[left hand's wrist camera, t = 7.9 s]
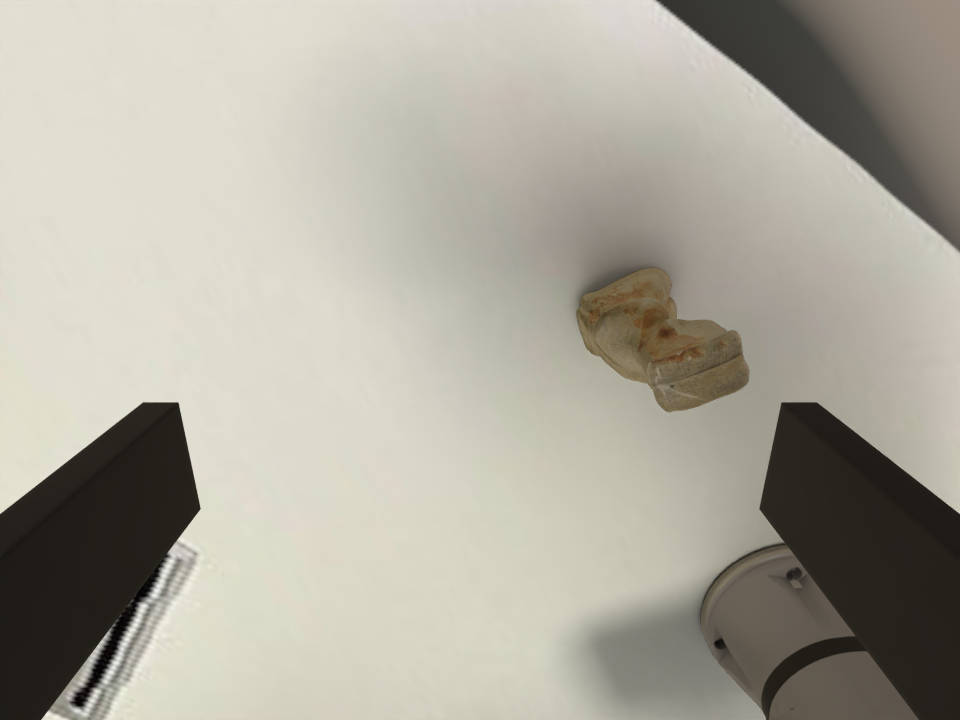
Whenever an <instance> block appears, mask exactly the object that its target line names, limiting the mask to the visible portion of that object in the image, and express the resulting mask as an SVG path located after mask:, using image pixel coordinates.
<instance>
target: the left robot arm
mask: <svg viewBox="0 0 960 720" xmlns="http://www.w3.org/2000/svg"><path fill="white" fill-rule="evenodd" d="M200 509H201V508H200V504H199V499H198V494H197V489H196V484H195V480H194V475H193V470H192V465H191V461H190V456H189V451H188V446H187V441H186V437H185V432H184V427H183V422H182V417H181V413H180V408H179V403H142V404H141V405H139V406H138V407H137V408H136V409H134V410H133V411H132V412H130V413H129V414H128V415H127V416H125V417H124V418H123V419H121V420H120V421H119V422H118V423H116V424H115V425H114V426H112V427H111V428H110V429H109V430H107V431H106V432H105V433H103V434H102V435H101V436H100V437H98V438H97V439H96V440H95V441H93V442H92V443H91V444H89V445H88V446H87V447H86V448H84V449H83V450H82V451H80V452H79V453H78V454H77V455H75V456H74V457H73V458H71V459H70V460H69V461H68V462H66V463H65V464H64V465H63V466H61V467H60V468H59V469H57V470H56V471H55V472H54V473H52V474H51V475H50V476H48V477H47V478H46V479H45V480H43V481H42V482H41V483H39V484H38V485H37V486H36V487H34V488H33V489H32V490H31V491H29V492H28V493H27V494H25V495H24V496H23V497H22V498H20V499H19V500H18V501H16V502H15V503H14V504H13V505H11V506H10V507H9V508H7V509H6V510H5V511H4V512H2V513H1V514H0V720H41V719H42V718H43V717H44V715H45V714H46V713H47V711H48V710H49V709H50V707H51V706H52V705H53V703H54V702H55V701H56V699H57V698H58V697H59V695H60V694H61V693H62V692H63V690H64V689H65V688H66V686H67V685H68V684H69V682H70V681H71V680H72V678H73V677H74V676H75V674H76V673H77V672H78V670H79V669H80V668H81V666H82V665H83V664H84V662H85V661H86V660H87V658H88V657H89V656H90V655H91V653H92V652H93V651H94V649H95V648H96V647H97V645H98V644H99V643H100V641H101V640H102V639H103V637H104V636H105V635H106V633H107V632H108V631H109V629H110V628H111V627H112V625H113V624H114V623H115V621H116V620H117V619H118V617H119V616H120V615H121V614H122V612H123V611H124V610H125V608H126V607H127V606H128V604H129V603H130V602H131V600H132V599H133V598H134V596H135V595H136V594H137V592H138V591H139V590H140V588H141V587H142V586H143V584H144V583H145V582H146V580H147V579H148V578H149V576H150V575H151V574H152V573H153V571H154V570H155V569H156V567H157V566H158V565H159V563H160V562H161V561H162V559H163V558H164V557H165V555H166V554H167V553H168V551H169V550H170V549H171V547H172V546H173V545H174V543H175V542H176V541H177V539H178V538H179V537H180V535H181V534H182V533H183V532H184V530H185V529H186V528H187V526H188V525H189V524H190V522H191V521H192V520H193V518H194V517H195V516H196V514H197V513H198V512H199V510H200ZM759 509H760V510H761V512H762V513H763V514H764V516H765V517H766V518H767V520H768V521H769V522H770V524H771V525H772V526H773V528H774V529H775V530H776V532H777V533H778V534H779V535H780V537H781V538H782V539H783V541H784V542H785V543H786V545H780V546H776V547H771V548H768V549H764V550H761V551H759V552H756V553H754V554H751V555H749V556H747V557H745V558H744V559H742V560H740V561H738V562H737V563H735V564H734V565H732V566H731V567H730V568H729V569H727V570H726V571H725V572H724V573H723V574H722V575H721V576H720V577H719V578H718V579H717V580H716V581H715V583H714V584H713V585H712V587H711V588H710V590H709V592H708V593H707V595H706V597H705V600H704V603H703V606H702V610H701V627H702V631H703V634H704V637H705V639H706V641H707V644H708V646H709V648H710V650H711V652H712V654H713V656H714V657H715V659H716V660H717V661H718V663H719V664H720V665H721V666H722V668H723V669H724V670H725V671H726V672H727V673H728V674H729V675H730V676H731V677H732V678H733V679H734V680H735V681H736V682H737V684H738V685H739V686H740V687H741V688H742V689H743V690H744V691H745V692H746V693H747V694H748V695H749V696H750V697H751V698H752V699H753V701H754V702H755V703H756V704H757V705H758V706H759V707H760V708H761V709H762V711H763V713H764V715H765V717H766V719H767V720H960V514H959V513H958V512H956V511H955V510H954V509H953V508H951V507H950V506H949V505H947V504H946V503H945V502H944V501H942V500H941V499H940V498H938V497H937V496H936V495H935V494H933V493H932V492H931V491H929V490H928V489H927V488H926V487H924V486H923V485H922V484H921V483H919V482H918V481H917V480H915V479H914V478H913V477H912V476H910V475H909V474H908V473H906V472H905V471H904V470H903V469H901V468H900V467H899V466H897V465H896V464H895V463H894V462H892V461H891V460H890V459H889V458H887V457H886V456H885V455H883V454H882V453H881V452H880V451H878V450H877V449H876V448H874V447H873V446H872V445H871V444H869V443H868V442H867V441H865V440H864V439H863V438H862V437H860V436H859V435H858V434H857V433H855V432H854V431H853V430H851V429H850V428H849V427H848V426H846V425H845V424H844V423H842V422H841V421H840V420H839V419H837V418H836V417H835V416H833V415H832V414H831V413H830V412H828V411H827V410H826V409H824V408H823V407H822V406H821V405H819V404H818V403H781V408H780V413H779V417H778V422H777V427H776V432H775V437H774V441H773V446H772V451H771V456H770V461H769V465H768V470H767V475H766V480H765V484H764V489H763V494H762V499H761V504H760V508H759Z"/></svg>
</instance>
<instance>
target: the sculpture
mask: <svg viewBox="0 0 960 720" xmlns="http://www.w3.org/2000/svg"><path fill="white" fill-rule="evenodd" d="M671 287H672V285H671V281H670V278H669V275H668V274H667V273H666V272H665V271H663V270H662V269H659V268H646V269H642V270H639V271H636V272H634V273H631V274H629V275H627V276H625V277H623V278H621V279H619V280H617V281H615V282H613V283H611V284H610V285H608V286H606V287H604V288H602V289H600V290H598V291H595V292H590V293H587V294H586V295H584V296H583V297H582V298H581V299H580V305H581V306H580V307H579V308H578V309H577V312H576V315H577V320H578V324H579V328H580V332H581V335H582V338H583V341H584V343H585V346H586V348H587V350H589V351H590V352H591V353H592V354H594V355H596V356H601V357H602V359H603V360H604V361H605V362H606V363H607V364H608V365H609V366H611V367H612V368H613V369H614V370H615V371H617V372H618V373H619V374H620V375H622V376H623V377H625V378H627V379H630V380H634V381H638V382H643V383H648V384H649V386H650V387H651V389H652V390H653V392H654V395H655V398H656V401H657V402H658V404H659V405H660V406H661V407H662V408H663V409H664V410H665V411H667V412H672V411H681V410H687V409H691V408H695V407H698V406H701V405H703V404H705V403H708V402H710V401H713V400H715V399H717V398H720V397H723V396H726V395H729V394H732V393H734V392H736V391H738V390H740V389H741V388H743V387H744V386H745V385H746V384H747V383H748V381H749V368H748V365H747V364H746V362H745V360H744V357H743V352H742V344H741V338H740V336H739V334H738V333H737V332H736V331H727V330H726V329H724V328H722V327H721V326H719V325H718V324H716V323H715V322H713V321H710V320H694V321H687V320H680V319H676V317H677V309H676V304H675V302H674V300H673V299H672V298H671V297H669V292H670V289H671Z"/></svg>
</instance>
